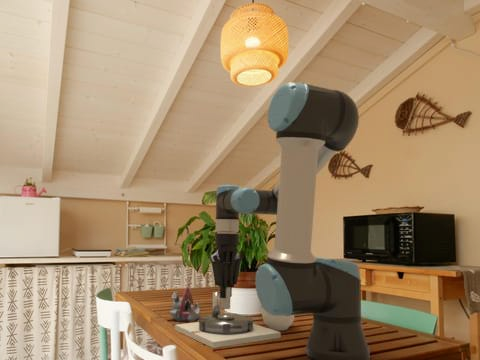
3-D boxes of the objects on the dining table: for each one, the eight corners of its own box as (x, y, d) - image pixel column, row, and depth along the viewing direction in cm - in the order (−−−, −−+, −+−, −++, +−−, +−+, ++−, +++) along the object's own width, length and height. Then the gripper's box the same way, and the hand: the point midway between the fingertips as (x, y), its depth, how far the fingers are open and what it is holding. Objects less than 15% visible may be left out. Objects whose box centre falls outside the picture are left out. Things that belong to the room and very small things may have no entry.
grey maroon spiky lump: (199, 316, 135) (179, 285, 138) (173, 335, 136) (154, 304, 139) (210, 310, 146) (191, 282, 149) (186, 328, 147) (169, 299, 150)
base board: (280, 337, 118) (280, 331, 118) (213, 348, 106) (213, 341, 106) (235, 322, 138) (235, 317, 138) (174, 329, 126) (174, 324, 126)
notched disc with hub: (264, 329, 120) (264, 296, 121) (214, 336, 111) (215, 300, 112) (235, 319, 133) (235, 289, 134) (188, 325, 124) (189, 293, 125)
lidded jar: (297, 326, 133) (297, 296, 135) (292, 333, 123) (292, 301, 125) (265, 323, 136) (265, 294, 138) (257, 330, 126) (257, 299, 127)
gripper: (233, 233, 140) (232, 304, 137) (204, 232, 131) (202, 309, 128) (249, 233, 135) (248, 307, 132) (219, 232, 126) (218, 312, 123)
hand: (225, 308), depth 130 cm, fingers closed
